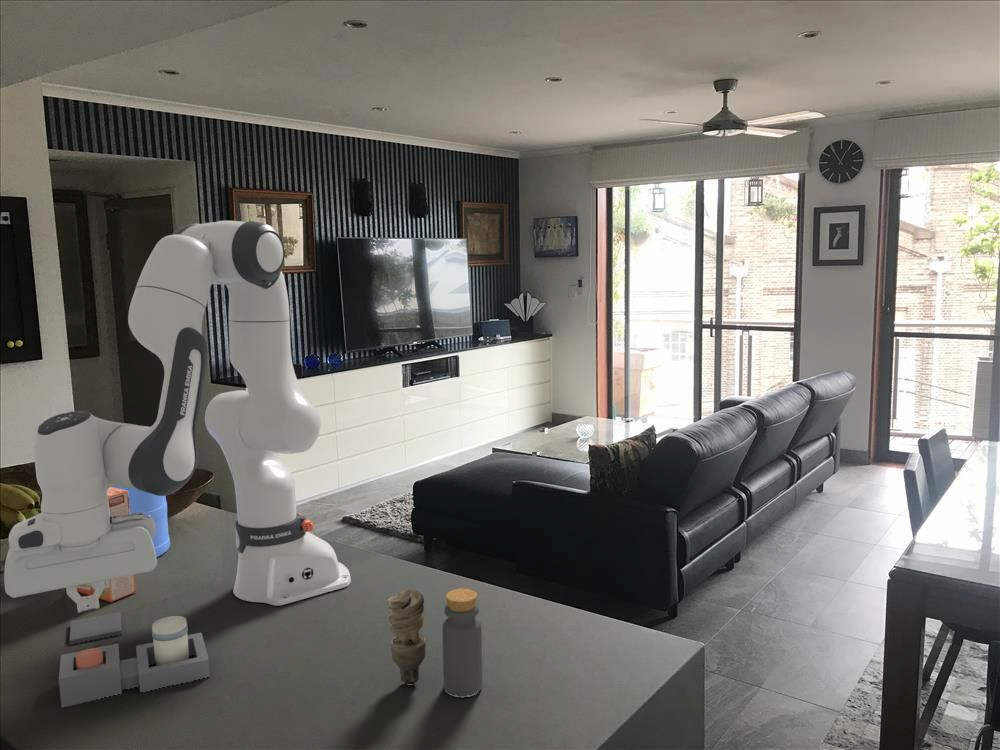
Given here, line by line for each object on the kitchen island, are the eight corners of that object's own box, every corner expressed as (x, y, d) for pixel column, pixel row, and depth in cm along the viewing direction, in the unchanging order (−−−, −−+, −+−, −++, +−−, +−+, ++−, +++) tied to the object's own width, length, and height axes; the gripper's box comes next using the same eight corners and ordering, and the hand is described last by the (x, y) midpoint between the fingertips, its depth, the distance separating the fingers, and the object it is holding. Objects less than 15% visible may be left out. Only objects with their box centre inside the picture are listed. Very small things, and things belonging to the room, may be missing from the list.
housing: (202, 649, 135) (200, 623, 134) (210, 677, 126) (208, 650, 125) (64, 678, 126) (61, 651, 125) (61, 711, 117) (58, 682, 116)
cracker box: (138, 592, 157) (129, 489, 154) (110, 604, 152) (100, 497, 149) (95, 578, 164) (85, 479, 161) (66, 589, 159) (56, 487, 156)
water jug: (185, 548, 180) (176, 426, 176) (120, 572, 167) (109, 441, 163) (142, 536, 188) (132, 419, 184) (77, 558, 175) (65, 432, 171)
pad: (120, 616, 147) (120, 611, 147) (121, 634, 140) (121, 630, 140) (71, 625, 144) (71, 621, 143) (70, 644, 137) (69, 640, 136)
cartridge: (188, 659, 131) (185, 613, 130) (192, 673, 127) (188, 626, 126) (154, 666, 129) (150, 619, 128) (156, 681, 125) (152, 633, 123)
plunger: (105, 676, 125) (102, 646, 124) (105, 687, 122) (102, 656, 121) (79, 681, 124) (76, 651, 123) (78, 693, 121) (75, 662, 120)
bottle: (461, 674, 126) (460, 583, 124) (490, 686, 122) (489, 593, 120) (435, 690, 122) (433, 596, 119) (464, 703, 118) (462, 607, 116)
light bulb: (392, 696, 120) (389, 601, 118) (387, 677, 125) (384, 586, 123) (429, 690, 121) (427, 596, 119) (423, 672, 127) (420, 582, 124)
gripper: (152, 503, 126) (161, 586, 129) (0, 528, 117) (13, 615, 120) (154, 516, 121) (164, 602, 123) (-4, 542, 112) (9, 634, 114)
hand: (88, 609), depth 122 cm, fingers closed
